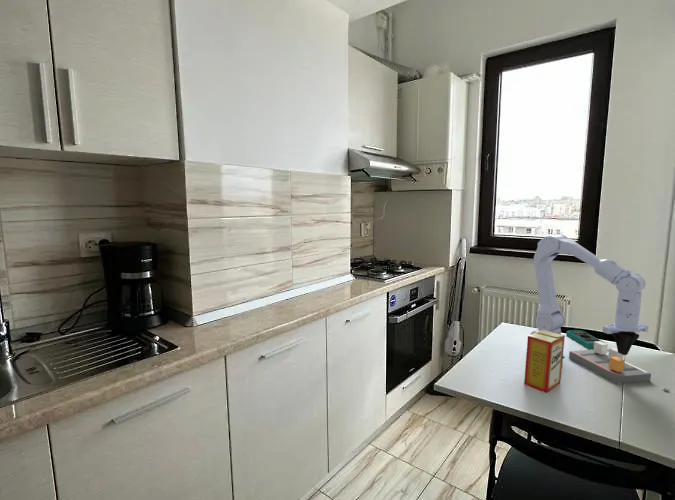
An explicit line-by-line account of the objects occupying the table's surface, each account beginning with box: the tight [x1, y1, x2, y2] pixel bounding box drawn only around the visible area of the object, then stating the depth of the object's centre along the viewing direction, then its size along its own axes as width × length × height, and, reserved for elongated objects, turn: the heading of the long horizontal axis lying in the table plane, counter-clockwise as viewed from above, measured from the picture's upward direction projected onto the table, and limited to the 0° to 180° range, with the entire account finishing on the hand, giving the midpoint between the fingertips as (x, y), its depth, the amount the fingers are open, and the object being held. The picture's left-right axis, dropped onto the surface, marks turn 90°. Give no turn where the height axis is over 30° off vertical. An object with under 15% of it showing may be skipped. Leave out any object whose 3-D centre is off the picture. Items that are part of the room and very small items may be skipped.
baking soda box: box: [523, 329, 566, 394], centre depth 110 cm, size 10×6×16 cm
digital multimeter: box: [565, 329, 607, 350], centre depth 144 cm, size 7×15×3 cm, turn 179°
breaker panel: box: [568, 340, 652, 385], centre depth 121 cm, size 12×19×6 cm, turn 9°
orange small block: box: [609, 356, 626, 372], centre depth 114 cm, size 2×3×4 cm
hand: (622, 353), depth 114 cm, fingers closed
